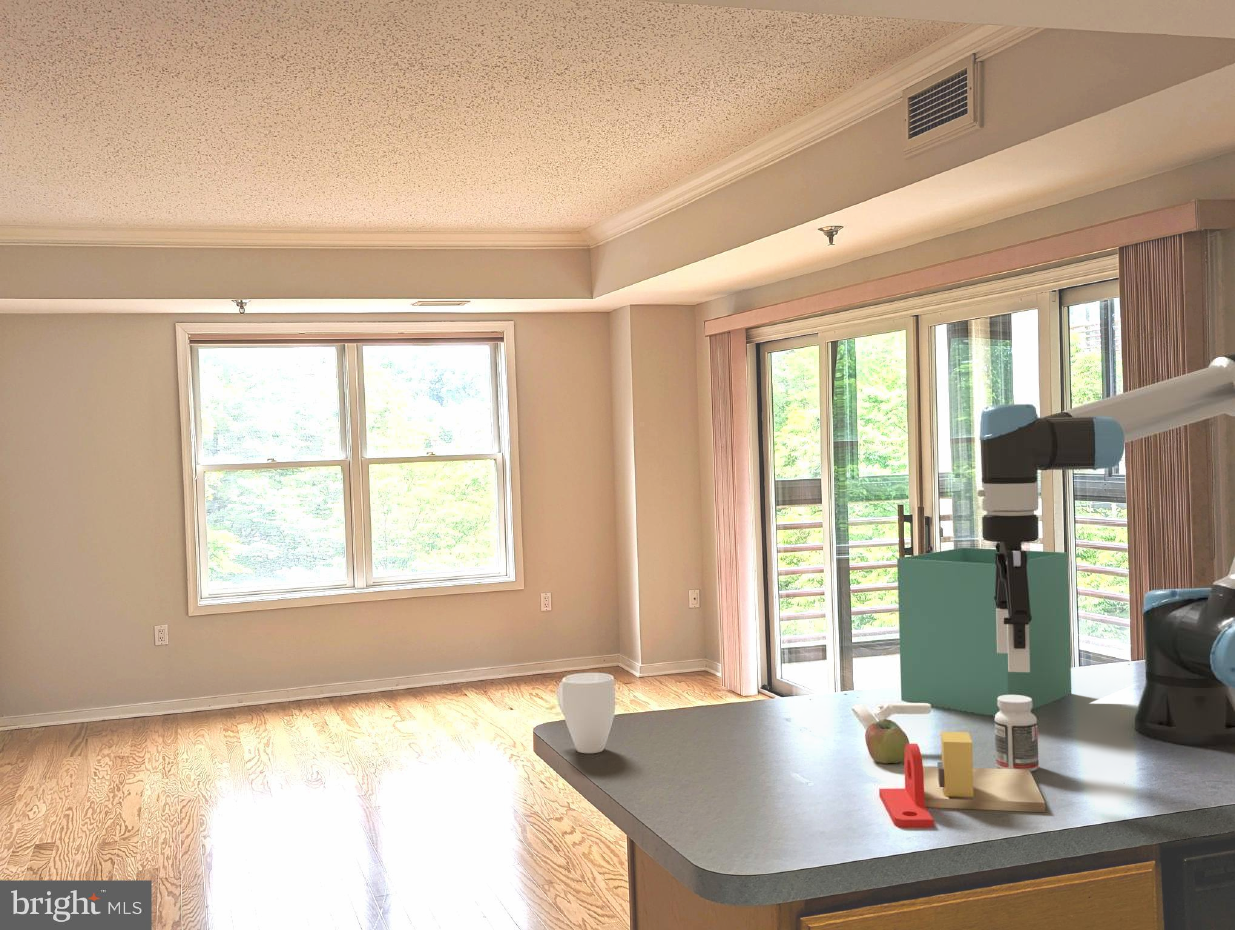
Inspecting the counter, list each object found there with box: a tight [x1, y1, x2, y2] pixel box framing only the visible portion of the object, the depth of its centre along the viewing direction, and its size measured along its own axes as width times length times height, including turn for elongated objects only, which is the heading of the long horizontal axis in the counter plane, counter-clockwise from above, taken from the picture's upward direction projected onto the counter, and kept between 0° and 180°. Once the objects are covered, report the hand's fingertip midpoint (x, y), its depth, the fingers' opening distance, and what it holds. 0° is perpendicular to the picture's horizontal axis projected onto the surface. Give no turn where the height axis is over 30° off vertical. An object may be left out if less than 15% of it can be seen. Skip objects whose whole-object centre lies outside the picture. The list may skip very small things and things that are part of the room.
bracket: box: [878, 743, 934, 829], centre depth 137 cm, size 12×4×8 cm, turn 176°
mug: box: [556, 672, 616, 754], centre depth 171 cm, size 12×8×11 cm
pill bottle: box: [994, 695, 1040, 773], centre depth 153 cm, size 6×6×10 cm
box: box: [896, 547, 1072, 717], centre depth 195 cm, size 23×21×26 cm
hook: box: [850, 702, 932, 730], centre depth 165 cm, size 8×12×7 cm, turn 78°
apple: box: [864, 718, 911, 765], centre depth 159 cm, size 6×8×6 cm
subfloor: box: [923, 765, 1046, 813], centre depth 143 cm, size 15×14×1 cm
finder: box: [937, 731, 974, 797], centre depth 140 cm, size 7×5×4 cm
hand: (1012, 662), depth 153 cm, fingers open, 13 cm apart
